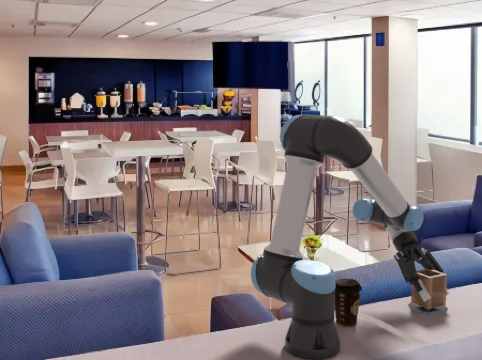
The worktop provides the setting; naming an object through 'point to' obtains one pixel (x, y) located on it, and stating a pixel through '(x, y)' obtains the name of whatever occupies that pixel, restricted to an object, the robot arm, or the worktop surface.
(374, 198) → the robot arm
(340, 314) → the coffee cup
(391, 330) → the worktop surface
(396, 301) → the worktop surface
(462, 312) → the worktop surface
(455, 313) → the worktop surface
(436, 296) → the sleeve
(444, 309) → the post stand
